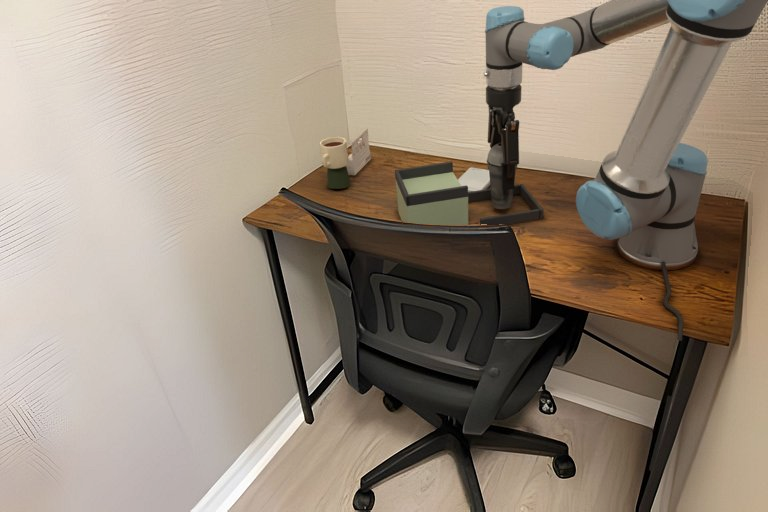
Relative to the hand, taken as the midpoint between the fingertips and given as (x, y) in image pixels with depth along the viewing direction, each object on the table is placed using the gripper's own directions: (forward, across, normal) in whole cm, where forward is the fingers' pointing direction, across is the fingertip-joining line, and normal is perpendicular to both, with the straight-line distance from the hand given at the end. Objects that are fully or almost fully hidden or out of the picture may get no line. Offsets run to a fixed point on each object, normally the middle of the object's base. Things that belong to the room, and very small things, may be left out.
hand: (502, 181), depth 139 cm
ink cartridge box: (+7, -36, -30) cm, 48 cm away
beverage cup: (+6, 0, 0) cm, 6 cm away
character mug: (+8, -26, -37) cm, 46 cm away
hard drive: (+8, -16, -2) cm, 18 cm away
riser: (+8, 0, -8) cm, 11 cm away
